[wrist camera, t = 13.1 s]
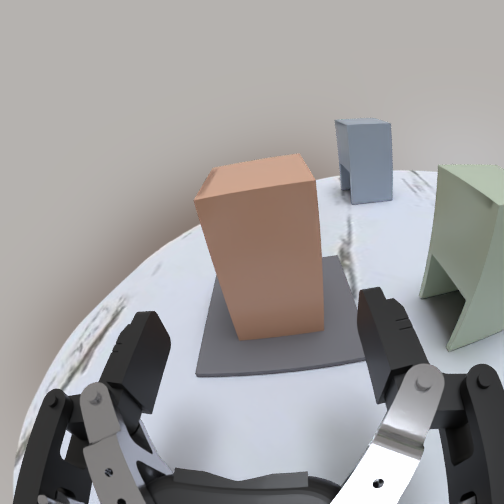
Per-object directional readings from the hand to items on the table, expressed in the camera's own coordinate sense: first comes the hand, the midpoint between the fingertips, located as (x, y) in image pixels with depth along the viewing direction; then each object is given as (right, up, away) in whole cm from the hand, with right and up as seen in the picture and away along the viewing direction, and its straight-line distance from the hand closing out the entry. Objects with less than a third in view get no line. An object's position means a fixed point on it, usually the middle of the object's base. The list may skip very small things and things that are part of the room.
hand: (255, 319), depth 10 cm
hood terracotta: (+2, -2, +11) cm, 12 cm away
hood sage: (+17, -2, +6) cm, 18 cm away
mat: (+2, -2, +12) cm, 12 cm away
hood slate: (+17, +11, +27) cm, 34 cm away
